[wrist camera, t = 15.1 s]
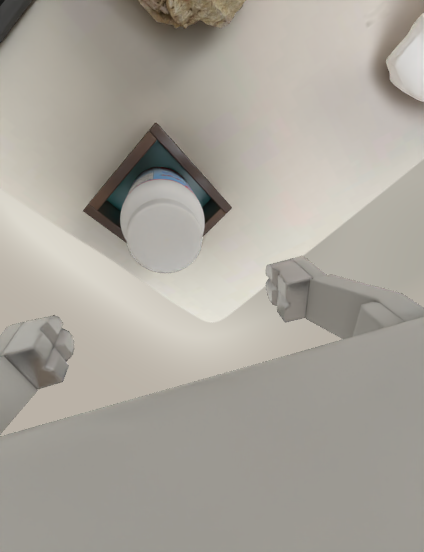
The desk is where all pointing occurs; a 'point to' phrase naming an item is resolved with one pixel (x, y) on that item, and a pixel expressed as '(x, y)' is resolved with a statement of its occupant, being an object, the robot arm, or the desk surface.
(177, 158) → the brown wooden box
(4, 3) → the cell phone
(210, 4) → the seashell
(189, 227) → the pill bottle
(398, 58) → the fish
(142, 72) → the desk surface
